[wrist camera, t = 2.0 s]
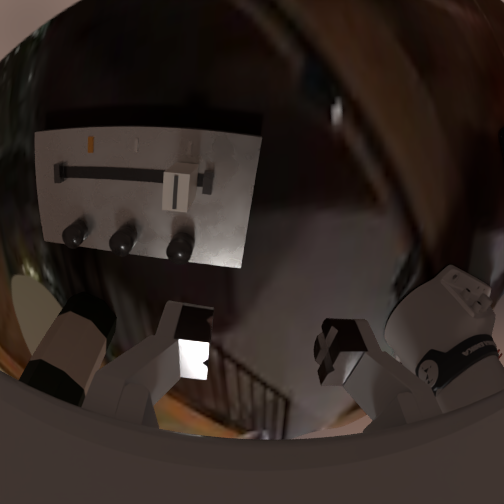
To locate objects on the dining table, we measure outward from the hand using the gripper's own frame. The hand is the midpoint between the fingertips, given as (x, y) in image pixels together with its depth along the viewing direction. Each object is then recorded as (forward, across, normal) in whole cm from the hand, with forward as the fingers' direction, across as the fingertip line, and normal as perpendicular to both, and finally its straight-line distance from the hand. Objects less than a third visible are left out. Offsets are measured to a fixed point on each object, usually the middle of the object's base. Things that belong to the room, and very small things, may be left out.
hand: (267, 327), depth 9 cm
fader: (+17, +6, 0) cm, 18 cm away
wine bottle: (+19, +20, +21) cm, 35 cm away
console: (+19, +12, +2) cm, 23 cm away
